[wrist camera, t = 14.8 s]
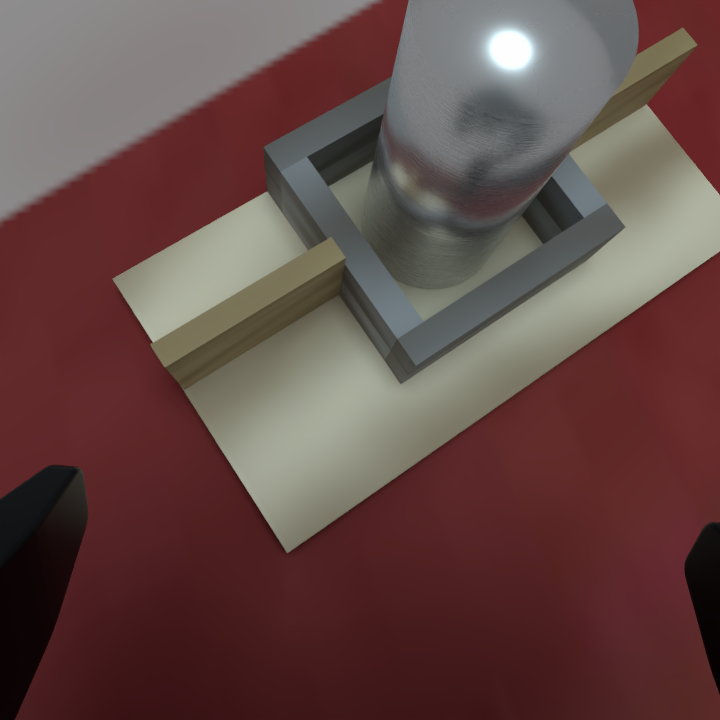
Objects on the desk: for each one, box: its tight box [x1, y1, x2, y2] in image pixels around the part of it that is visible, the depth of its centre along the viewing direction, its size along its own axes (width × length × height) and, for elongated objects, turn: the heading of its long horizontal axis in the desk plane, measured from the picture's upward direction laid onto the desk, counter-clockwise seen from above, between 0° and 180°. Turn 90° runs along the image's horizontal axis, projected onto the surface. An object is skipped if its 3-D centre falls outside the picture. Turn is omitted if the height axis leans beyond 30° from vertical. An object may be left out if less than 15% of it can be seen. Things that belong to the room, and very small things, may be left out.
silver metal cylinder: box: [361, 0, 639, 289], centre depth 19 cm, size 5×5×10 cm
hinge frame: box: [113, 28, 720, 553], centre depth 23 cm, size 11×21×4 cm, turn 124°
